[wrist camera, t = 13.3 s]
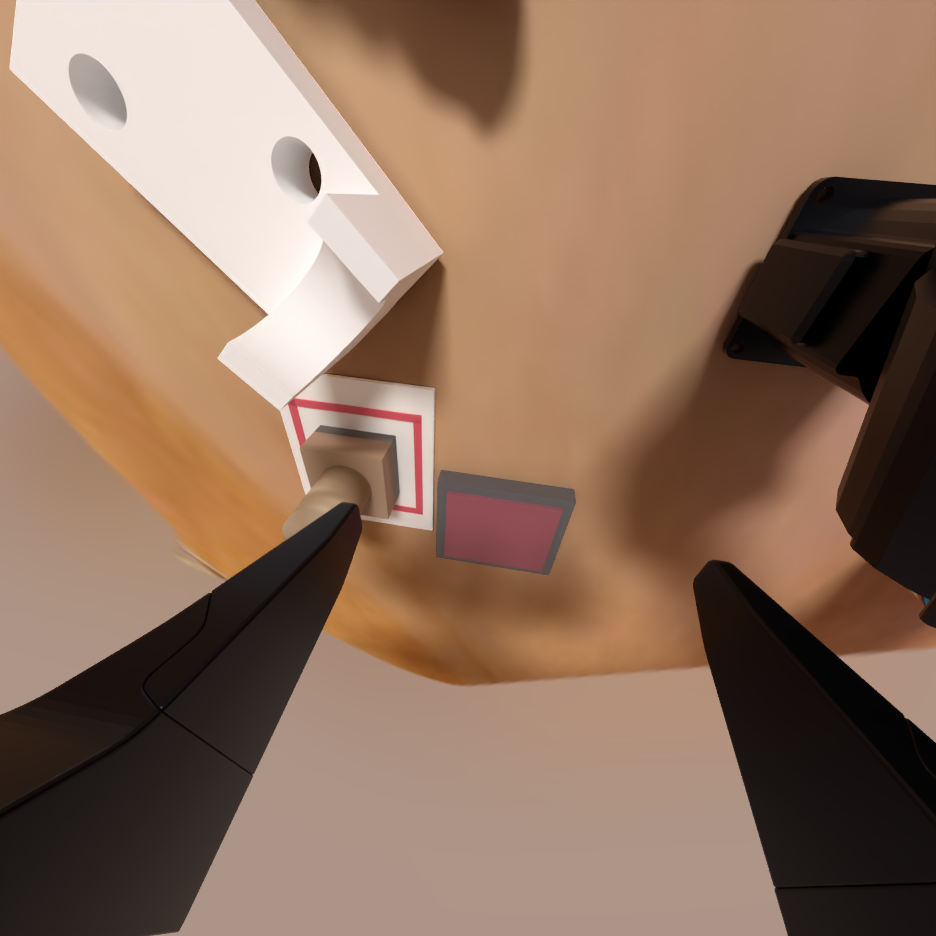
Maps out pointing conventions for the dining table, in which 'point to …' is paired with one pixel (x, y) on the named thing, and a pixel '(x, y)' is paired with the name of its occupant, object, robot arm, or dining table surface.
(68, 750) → the robot arm
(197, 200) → the bracket
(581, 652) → the dining table surface
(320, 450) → the stamp
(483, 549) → the ink pad
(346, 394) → the paper card
